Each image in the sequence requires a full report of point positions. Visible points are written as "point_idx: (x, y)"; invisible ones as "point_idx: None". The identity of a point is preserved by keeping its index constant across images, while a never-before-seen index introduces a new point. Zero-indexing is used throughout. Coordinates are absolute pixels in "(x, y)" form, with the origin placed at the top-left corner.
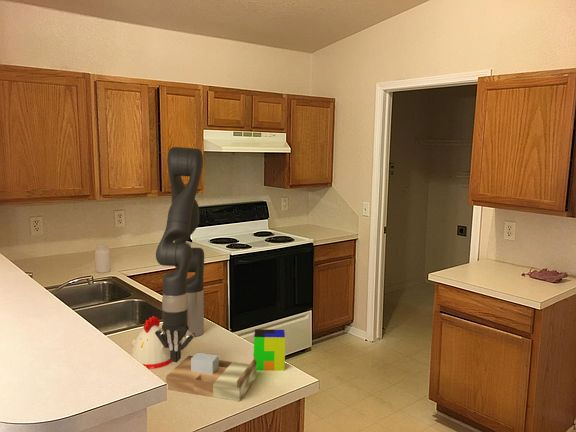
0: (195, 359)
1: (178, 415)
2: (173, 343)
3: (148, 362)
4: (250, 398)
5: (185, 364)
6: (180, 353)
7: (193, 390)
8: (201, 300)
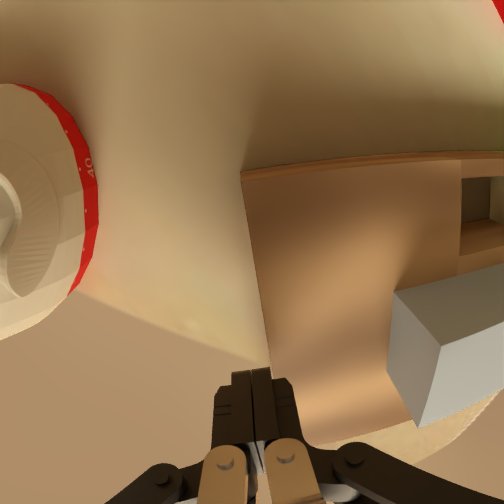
0: (446, 416)
1: (392, 453)
2: (220, 492)
3: (44, 317)
4: None
5: (312, 327)
6: (297, 414)
7: None
8: None
